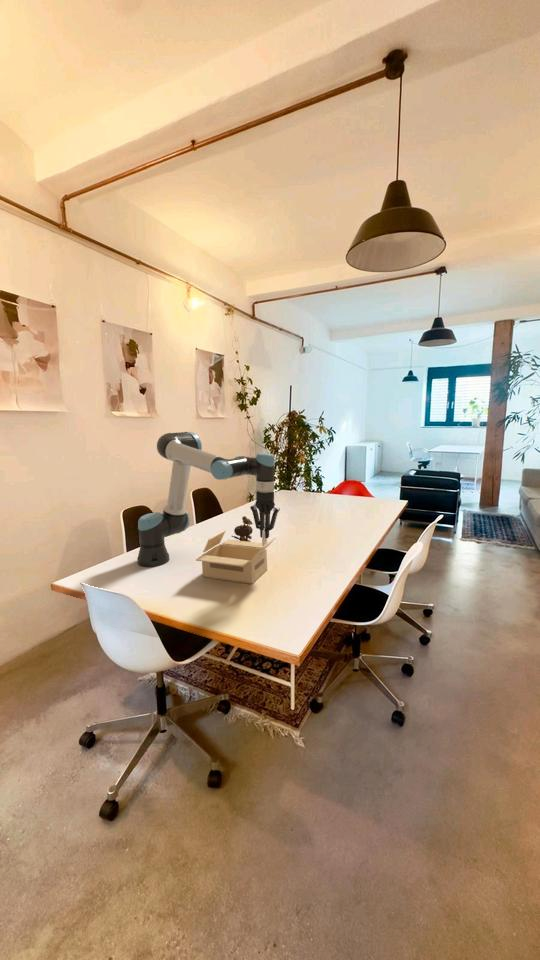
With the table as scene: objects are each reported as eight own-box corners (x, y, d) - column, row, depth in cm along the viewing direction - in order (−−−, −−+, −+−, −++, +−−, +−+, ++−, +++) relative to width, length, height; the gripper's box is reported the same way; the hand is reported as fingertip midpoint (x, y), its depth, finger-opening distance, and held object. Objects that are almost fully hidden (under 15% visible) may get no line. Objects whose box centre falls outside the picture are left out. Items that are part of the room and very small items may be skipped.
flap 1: (203, 551, 166) (208, 538, 164) (219, 542, 179) (224, 530, 177) (204, 552, 166) (209, 539, 164) (220, 542, 179) (225, 530, 177)
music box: (262, 553, 196) (259, 516, 191) (248, 561, 187) (244, 522, 183) (240, 547, 205) (237, 512, 201) (226, 555, 197) (222, 518, 192)
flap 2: (251, 557, 157) (262, 547, 155) (265, 547, 170) (275, 537, 168) (252, 558, 157) (263, 548, 155) (266, 548, 170) (275, 538, 167)
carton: (195, 582, 161) (193, 559, 160) (227, 559, 187) (226, 539, 186) (246, 590, 152) (245, 565, 151) (272, 565, 178) (271, 544, 177)
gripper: (247, 491, 157) (247, 545, 161) (276, 493, 152) (275, 549, 156) (254, 487, 164) (254, 540, 168) (282, 490, 159) (281, 544, 163)
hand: (264, 544), depth 162 cm, fingers closed
